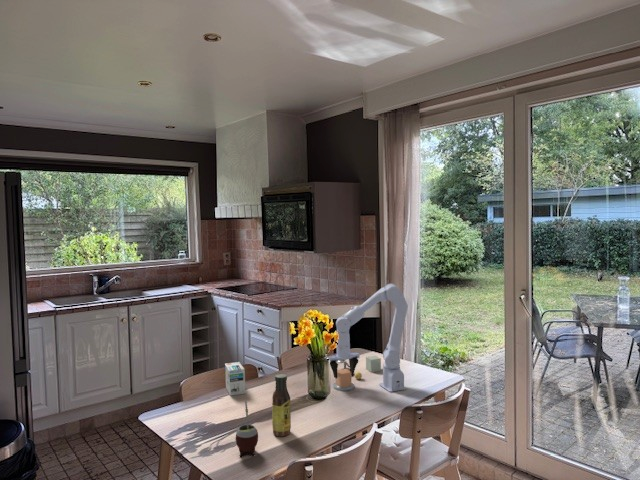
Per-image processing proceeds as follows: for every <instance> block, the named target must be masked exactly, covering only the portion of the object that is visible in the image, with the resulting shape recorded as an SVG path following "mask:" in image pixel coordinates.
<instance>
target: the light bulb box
mask: <svg viewBox="0 0 640 480" xmlns="http://www.w3.org/2000/svg"><path fill="white" fill-rule="evenodd" d="M224 365H225V366H224V367H225V368H224V371H225V372H224V373H225V388H226V391H227V392H228V394H229V396H237V395H243V394H244V395H245V394H246V371H245V370H246V369H245V367H244V366H243V365H242V364H241V361H238V362H237V361H236V362H235V361H234V362H229V363H224Z"/></svg>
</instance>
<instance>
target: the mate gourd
mask: <svg viewBox="0 0 640 480" xmlns="http://www.w3.org/2000/svg"><path fill="white" fill-rule="evenodd" d="M247 403H248V402H247V399H244V406H245V420H246V424H243V425H241V426H239V427H238V428H237V430H236V432H235V433H236V434H235V444H236V445H237V449H238V451H239V456H240V457H239V458H242V456H243V457H244V455H245V456H246V455H249V454H250V455H249V456H251V455H252V457H254V455H255V456H256V454H255V449H256V446H257V444H258V442H259V432H258V430H257V428H256V426H254V425H252V424H249V409H248V404H247Z"/></svg>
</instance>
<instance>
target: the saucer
mask: <svg viewBox="0 0 640 480" xmlns="http://www.w3.org/2000/svg"><path fill="white" fill-rule="evenodd" d="M332 386H333V389H334V390H336V391H340V392H347V391H348V392H349V391H351V390H354V389H355V384H354V383H352V386H349V387H343V388H340V387H339V386H338V385H336V382H335V383H333V385H332Z"/></svg>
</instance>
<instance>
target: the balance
mask: <svg viewBox="0 0 640 480" xmlns="http://www.w3.org/2000/svg"><path fill="white" fill-rule="evenodd" d="M336 362H337V364H339V363H340V364H343V369H347V370H349V371H350V364H349V363H348V362H347V360H339V361H336Z"/></svg>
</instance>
